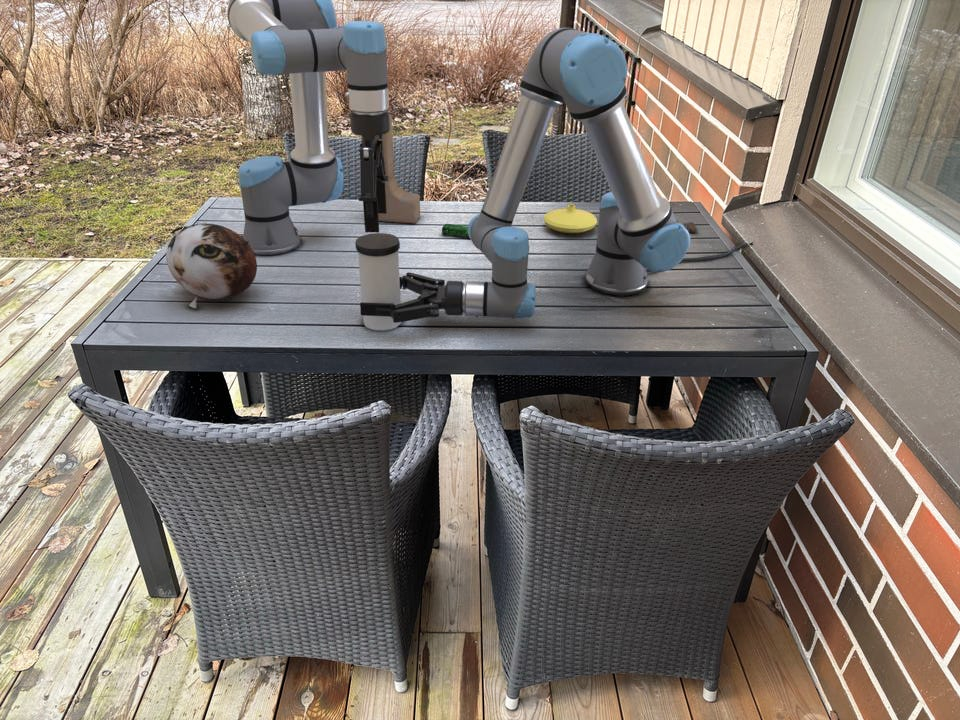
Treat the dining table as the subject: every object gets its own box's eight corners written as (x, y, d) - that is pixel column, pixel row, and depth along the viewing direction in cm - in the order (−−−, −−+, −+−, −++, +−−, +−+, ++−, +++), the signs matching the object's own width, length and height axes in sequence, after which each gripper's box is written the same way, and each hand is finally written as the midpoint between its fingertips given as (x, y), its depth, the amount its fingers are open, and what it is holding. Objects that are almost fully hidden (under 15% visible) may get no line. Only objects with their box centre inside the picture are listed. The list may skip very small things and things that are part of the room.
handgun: (511, 219, 210) (493, 234, 198) (511, 228, 211) (492, 244, 199) (461, 212, 215) (440, 226, 203) (461, 221, 217) (440, 236, 204)
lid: (352, 242, 153) (352, 235, 152) (395, 238, 155) (394, 231, 155) (359, 258, 145) (359, 251, 145) (404, 253, 148) (403, 246, 147)
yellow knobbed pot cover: (559, 216, 220) (561, 193, 217) (605, 227, 212) (608, 204, 209) (532, 230, 209) (533, 207, 206) (580, 242, 201) (582, 218, 198)
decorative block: (415, 224, 212) (412, 120, 197) (366, 221, 214) (359, 117, 199) (420, 215, 219) (417, 114, 203) (373, 212, 220) (366, 112, 205)
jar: (360, 315, 162) (354, 237, 152) (397, 311, 164) (393, 233, 154) (367, 332, 155) (360, 252, 145) (405, 327, 157) (401, 248, 147)
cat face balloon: (130, 285, 161) (164, 203, 163) (192, 308, 177) (221, 233, 178) (195, 307, 151) (229, 220, 152) (254, 330, 166) (285, 250, 168)
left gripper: (359, 98, 146) (366, 203, 157) (338, 124, 126) (348, 242, 138) (396, 99, 146) (400, 204, 157) (380, 125, 126) (387, 243, 137)
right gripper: (459, 341, 146) (356, 337, 147) (468, 289, 168) (378, 286, 169) (459, 308, 142) (353, 304, 143) (468, 260, 164) (376, 256, 165)
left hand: (376, 222), depth 147 cm, fingers open, 11 cm apart
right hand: (366, 294), depth 156 cm, fingers open, 13 cm apart
